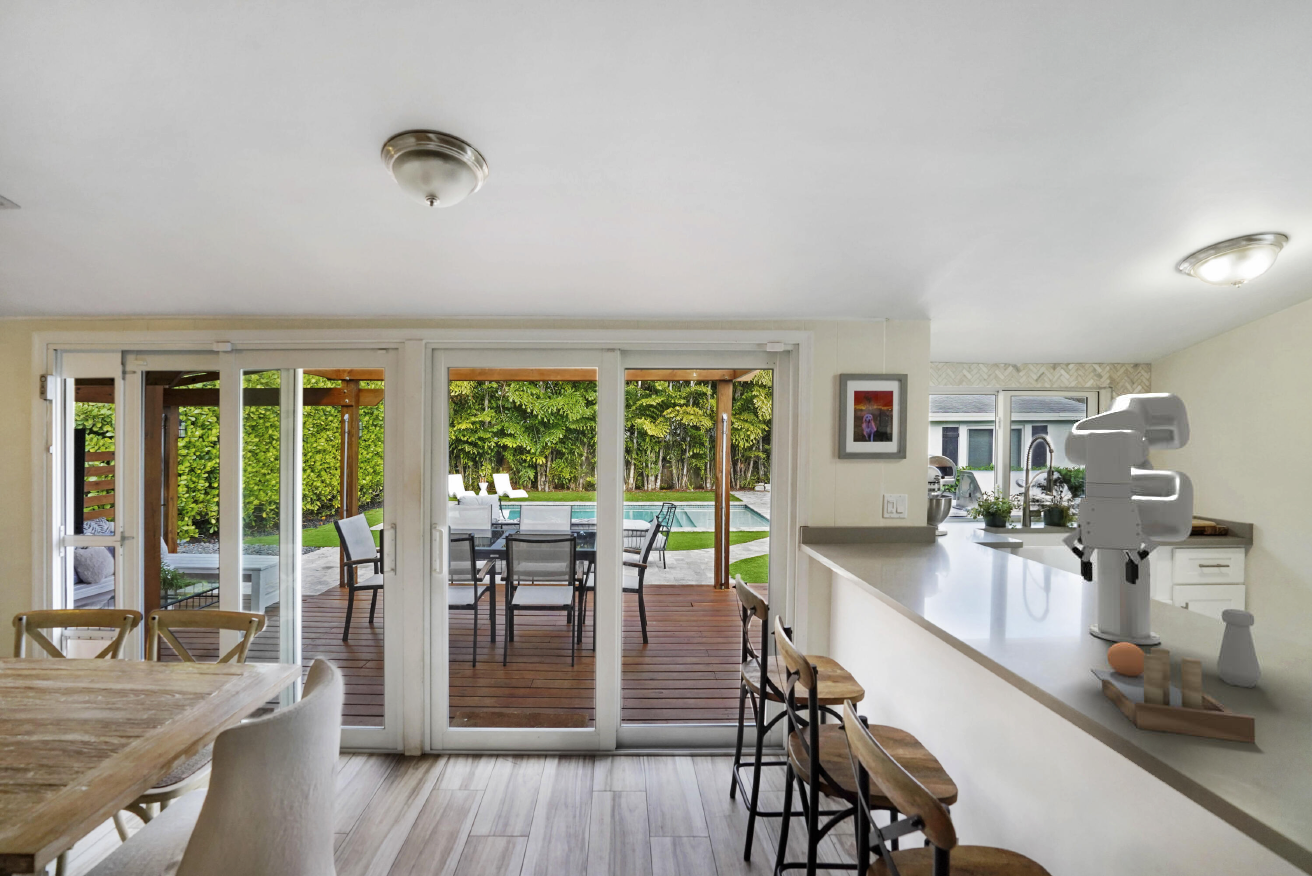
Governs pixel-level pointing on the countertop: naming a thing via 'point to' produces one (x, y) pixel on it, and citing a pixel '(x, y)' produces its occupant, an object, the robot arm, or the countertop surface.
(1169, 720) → the lane rail
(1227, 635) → the salt shaker
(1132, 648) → the ball
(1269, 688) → the countertop surface
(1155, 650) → the pin front
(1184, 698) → the pin back left
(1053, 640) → the countertop surface
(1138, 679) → the plate
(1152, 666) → the pin back right
